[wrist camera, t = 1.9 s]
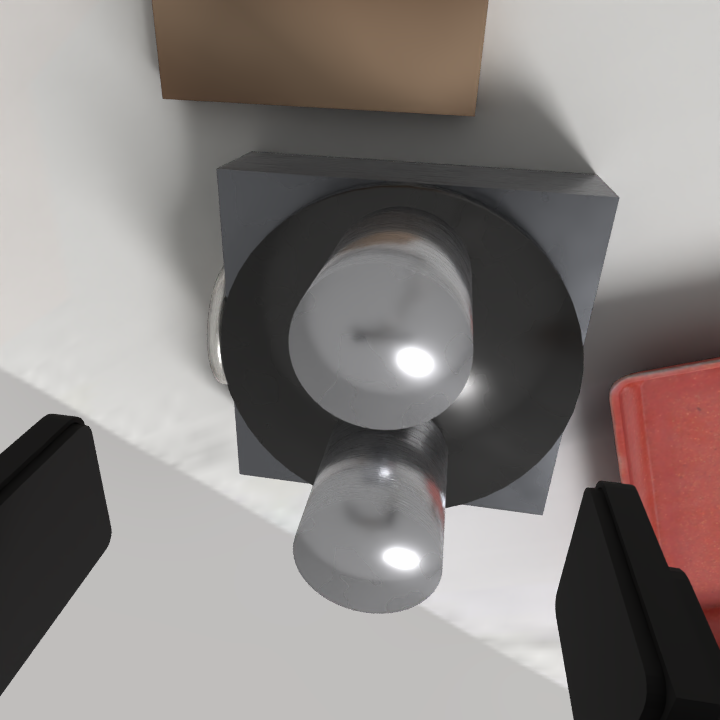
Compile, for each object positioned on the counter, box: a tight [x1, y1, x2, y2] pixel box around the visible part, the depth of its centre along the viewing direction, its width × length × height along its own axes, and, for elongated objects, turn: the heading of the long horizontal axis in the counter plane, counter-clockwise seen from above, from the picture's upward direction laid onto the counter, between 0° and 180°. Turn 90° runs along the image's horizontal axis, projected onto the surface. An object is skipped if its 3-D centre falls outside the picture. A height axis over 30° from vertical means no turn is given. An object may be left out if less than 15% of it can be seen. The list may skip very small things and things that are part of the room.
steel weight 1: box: [289, 207, 473, 430], centre depth 19 cm, size 5×5×6 cm
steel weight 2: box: [293, 419, 448, 613], centre depth 22 cm, size 5×5×6 cm
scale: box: [207, 152, 619, 515], centre depth 26 cm, size 14×15×6 cm
